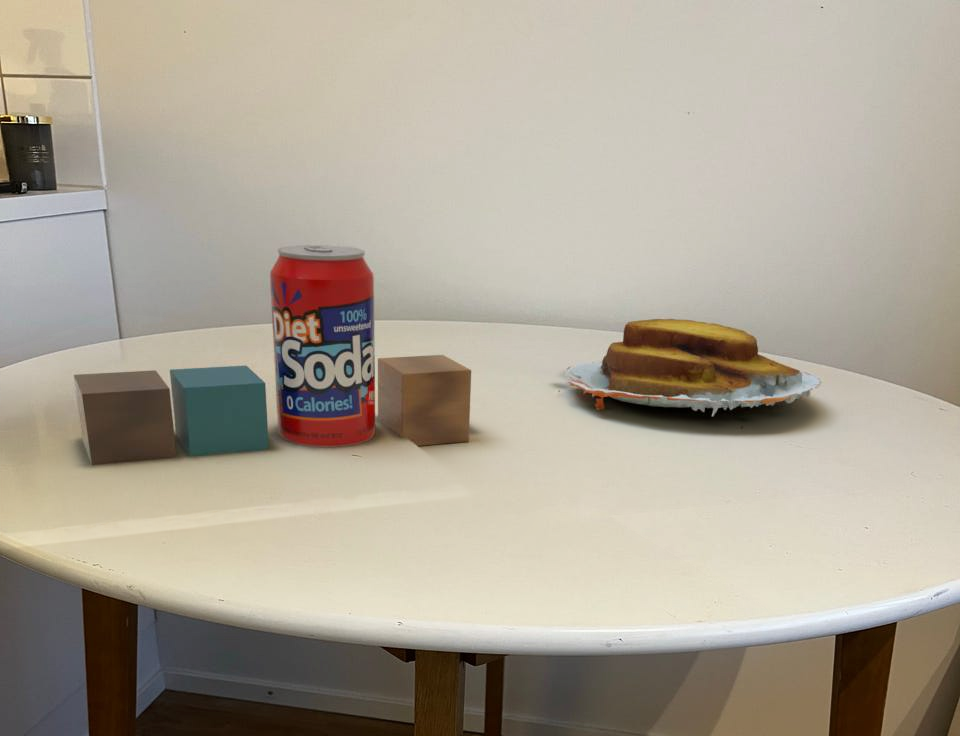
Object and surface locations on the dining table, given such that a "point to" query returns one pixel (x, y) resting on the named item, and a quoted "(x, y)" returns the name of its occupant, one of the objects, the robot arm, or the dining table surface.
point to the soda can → (323, 345)
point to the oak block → (425, 398)
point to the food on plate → (689, 369)
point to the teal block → (219, 410)
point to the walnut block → (125, 416)
